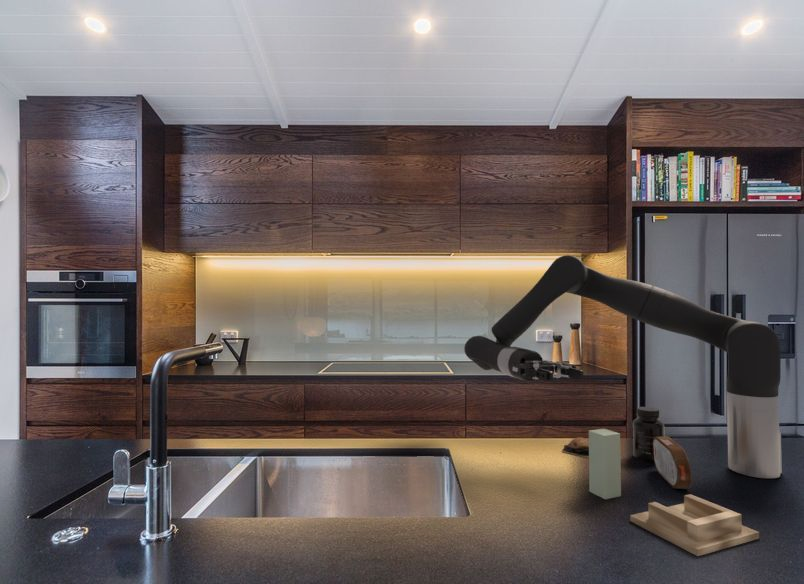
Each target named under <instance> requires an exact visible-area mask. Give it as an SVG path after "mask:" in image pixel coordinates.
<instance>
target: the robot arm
mask: <svg viewBox="0 0 804 584" xmlns="http://www.w3.org/2000/svg"><path fill="white" fill-rule="evenodd" d="M565 293H568V294H572V295H576V296H579V297H583V298H587V299H589V300H592V301H596V302H599V303H601V304H602V305H605V306H607V307H609V308H611V309H613V310H614V311H617V312H619V313H620V314H623V315H625V316H627V317H628V318H629V317H630V318H632V319H634V320H636V321H638V322H642V323H644V324H647V325H649V326H652V327H655V328H657V329H661V330H663V331H664V330H665V331H667V332H670V333H675V334H679V335H683V336H688V337H691V338H695V339H697V340H700V341H702V342H704V343H706V344H709V345H711V346H713V347H716V348H718V349H720V350H722V351H723V352H725V353H727V377H726V381H725V382H726V412H727V413H726V417H727V419H726V420H727V422H726V423H727V462H728V463H727V465H728V466H727V467H728V469H729V470H731V471H733V472H735V473H737V474H741V475H744V476H748V477H753V478H759V479H777V478H780V477H781V474H782V472H783V471H782V470H783V468H782V462H783V461H782V433H781V432H782V431H781V429H780V411H779V410H780V409H779V407H780V406H779V389H780V388H779V387H780V384H781V377H782V376H781V374H782V373H781V372H782V371H781V370H782V369H781V368H782V367H781V363H782V362H781V361H782V360H781V353H782V352H781V343H780V337H779V336H778V334H777V332H776V331H775V330H774V329H773V328H772V327H770V326H768V325H767V324H764V323H762V322H757V321H751V320H745V319H740V318H737V317H732V316H729V315H726V314H722V313H718V312H716V311H713V310H710V309H707V308H705V307H704V306H701V305H699V304H697V303H694V302H693V301H691V300H689V299H688V298H686V297H682V296H681V295H678V294H677V293H675V292H674V293H673V292H671V291H670V290H667V289H664V288H661V287H658V286H655V285H651V284H648V283H644V282H641V281H636V280H633V279H632V280H631V279H627V278H626V279H625V278H620V277H615V276H611V275H608V274H605V273H603V272H600V271H598V270H596V269H594V268H592V267H590V266H588V265H586V264H584V262H583V260H581V259H580V258H579V257H577V256H575V255H570V254H566V255H561V256H559V257H557V258H556V259H555V260H554V261H553V262H551V264H550V266H549V267H548V269H547V270H546V271H545V272H544V273H543V275H542V276H541V278H540V279H538V281H537V283H535V285H533V286H532V288H531V289H530V290H529V291H528V292H527V293H526V294H525V295H524V296H523V297H522V298H521V299H520V300H519V301H518V302H517V303H516V304H515V305H514V306H512V307H511V308H510V309H509V310H508V311H507V312H506V313H505V314H504V315H503V316H502V317H501V318H500V319H499V320H497V322H495V323H494V324H493V325H492V327H491V333H492V335H493V336H494V338H495V340H492V339H490V338H488V337H486V336H482V335H475V336H474V335H473V336H471V337H470V338H469V339H467V341H466V342H465V344H464V349H463V350H464V354H465V355H466V357H467V358H468V359H469V360H471V361H472V362H473V363H474V364H476V365H477V366H478V367H480V369H482V370H484V371H490V370H494V371H496V372H500V373H503V374H506V375H507V376H509V377H512V378H514V379H518V380H520V381H523V382H528V383H532V382H535V381H536V380H541V381H545V382H553V380H554V378H555V379H560V378H561V377H563V378H568V379H573V380H577V381H584V370H582V369H579V368H577V366H576V365H575V364H570V363H565V362H561V361H555V362H554V361H550V360H547V359H543V357H542V355H541V354H540V353H539V352H537V351H535V350H532V349H527V348H523V347H518V346H512V344H514V342H516V341H517V339H519V338H520V337H521V336H522V335H524V333H525V332H526V331H528V329H529V328H531V327H532V325H533V324H534V323H535V322H536V320H537V319H538V318H539V317H540V316H541V314H542V313H543V312H544V311H545V310H546V309H547V308H548V307H549V306H550V305H551V304H552V303H553V302H554V301H555V300H557V299H558V298H559V297H561V296H563V295H564V294H565ZM555 373H556V374H555Z"/></svg>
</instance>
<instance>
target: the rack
mask: <svg viewBox="0 0 804 584" xmlns="http://www.w3.org/2000/svg"><path fill="white" fill-rule="evenodd" d="M683 500H684V501H683V503H679V504H674V505H670V506H665V505H663V504H661V503H659V502H657V501H653V502H648V503H647V508H648V509H647V510H648V511H643V512H638V513H634V514H630V515H629V516H630V518H629V519H630V520H629V521H630V522H632V523H633V524H635V525H637V526H638V527H640V528H642V529H645V530H646V531H649V532H650V533H652V534H654V535H656V536H658V537H660V538H662V539H664V540H666V541H668V542H669V543H672V544H673V545H675V546H677V547H679V548H681V549H683V550H685V551H687V552H688V553H690V554H692V555H695V556H696V557H701V556H704V555H707V554H710V553H714V552H718V551H721V550H724V549H728V548H731V547H735V546H738V545H742V544H744V543H749V542H752V541H756V540H759V539H760V532H759V531H758V530H755V529H752V528H750V527H748V526H745V525H743V524H742V523H743V521H742V519H743V518H742V513H739V512H736V511H733V510H731V509H729V508H726V507H724V506H722V505H719V504H717V503H713V502H710V501H709V500H706V499H704V498H701V497H698V496H696V495H693V494H692V493H690V494H685V495H683Z"/></svg>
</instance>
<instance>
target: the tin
mask: <svg viewBox="0 0 804 584" xmlns="http://www.w3.org/2000/svg"><path fill="white" fill-rule="evenodd" d="M653 450H654V462H655V463H654V465H655V467H656V471H657V472H658V474H659V475H660V476H661V477H662V478H663V480H665V481H666V482H667V484H669V485H670V487H671V488H673V489H677V490H690V488H691V487H692V481H693V480H692V475H693V474H692V468H691V463H690V460H689V457H688V455H687V453H686V451H685V449H684V448H683V447H682V446H681V445H680V444H679V443H677V442H676V441H675V440H674V439H673V438H671V437H670V436H668V435H665V437H655V438H654V439H653Z"/></svg>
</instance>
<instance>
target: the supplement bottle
mask: <svg viewBox="0 0 804 584" xmlns="http://www.w3.org/2000/svg"><path fill="white" fill-rule="evenodd" d="M636 416H637V417H636V418H635V419H634V420H633V421H632V446H633V447H632V448H633V450H632V452H633V456H634V458H635V459H636V460H639V461H641V462H643V463H644V462H645V463H648V464H649V463H650V464H655V462H654V450H653V439H654V438H655V437H665V436H666V435H665V434H666V431H665V424H664V423H663V421H661V420H660V418H661V415H660V409H658V408H656V407H650V406H638V407H637V408H636Z"/></svg>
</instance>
